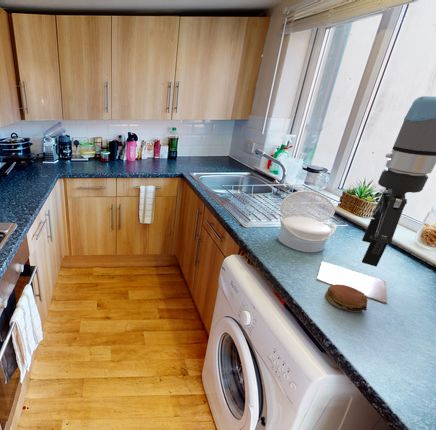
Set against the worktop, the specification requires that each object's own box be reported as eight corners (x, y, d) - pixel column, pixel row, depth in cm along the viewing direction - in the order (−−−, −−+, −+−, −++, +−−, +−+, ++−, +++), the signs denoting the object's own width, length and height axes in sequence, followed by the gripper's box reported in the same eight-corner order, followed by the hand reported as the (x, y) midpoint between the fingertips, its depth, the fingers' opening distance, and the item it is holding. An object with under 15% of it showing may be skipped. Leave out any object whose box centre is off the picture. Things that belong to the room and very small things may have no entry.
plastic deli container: (277, 249, 114) (291, 202, 106) (269, 227, 131) (281, 186, 123) (335, 258, 108) (354, 210, 100) (319, 235, 126) (334, 192, 117)
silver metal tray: (384, 281, 96) (385, 280, 96) (386, 304, 86) (387, 303, 86) (321, 262, 106) (321, 261, 106) (316, 279, 96) (316, 278, 96)
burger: (318, 292, 90) (322, 280, 88) (347, 292, 90) (352, 280, 88) (340, 315, 81) (346, 302, 80) (372, 316, 82) (379, 303, 80)
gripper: (381, 158, 75) (351, 230, 84) (387, 180, 57) (348, 268, 66) (421, 163, 70) (385, 238, 79) (440, 188, 53) (391, 281, 62)
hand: (368, 252), depth 73 cm, fingers open, 13 cm apart
